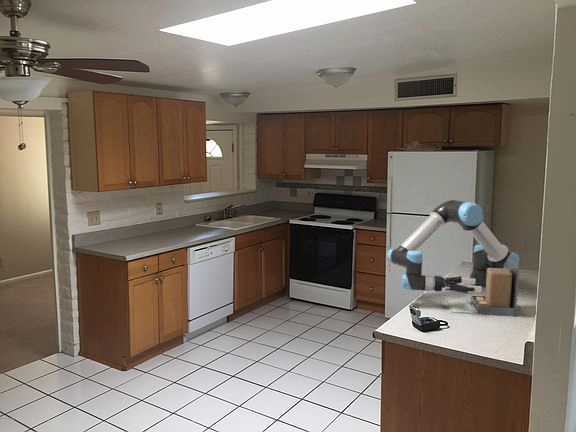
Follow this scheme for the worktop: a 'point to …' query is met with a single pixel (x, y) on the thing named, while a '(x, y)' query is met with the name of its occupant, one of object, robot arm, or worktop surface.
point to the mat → (461, 307)
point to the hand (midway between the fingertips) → (478, 285)
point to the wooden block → (498, 287)
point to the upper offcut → (481, 301)
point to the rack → (513, 302)
